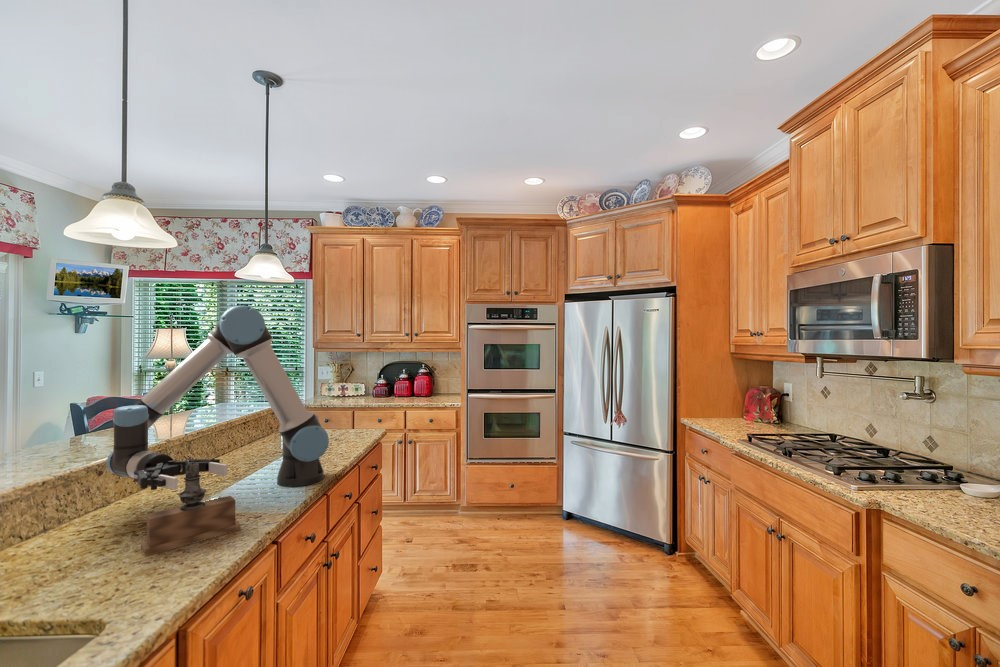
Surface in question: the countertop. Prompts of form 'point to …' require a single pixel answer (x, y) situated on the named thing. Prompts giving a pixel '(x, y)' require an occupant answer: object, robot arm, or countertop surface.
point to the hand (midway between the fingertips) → (202, 476)
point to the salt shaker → (192, 488)
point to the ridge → (189, 525)
